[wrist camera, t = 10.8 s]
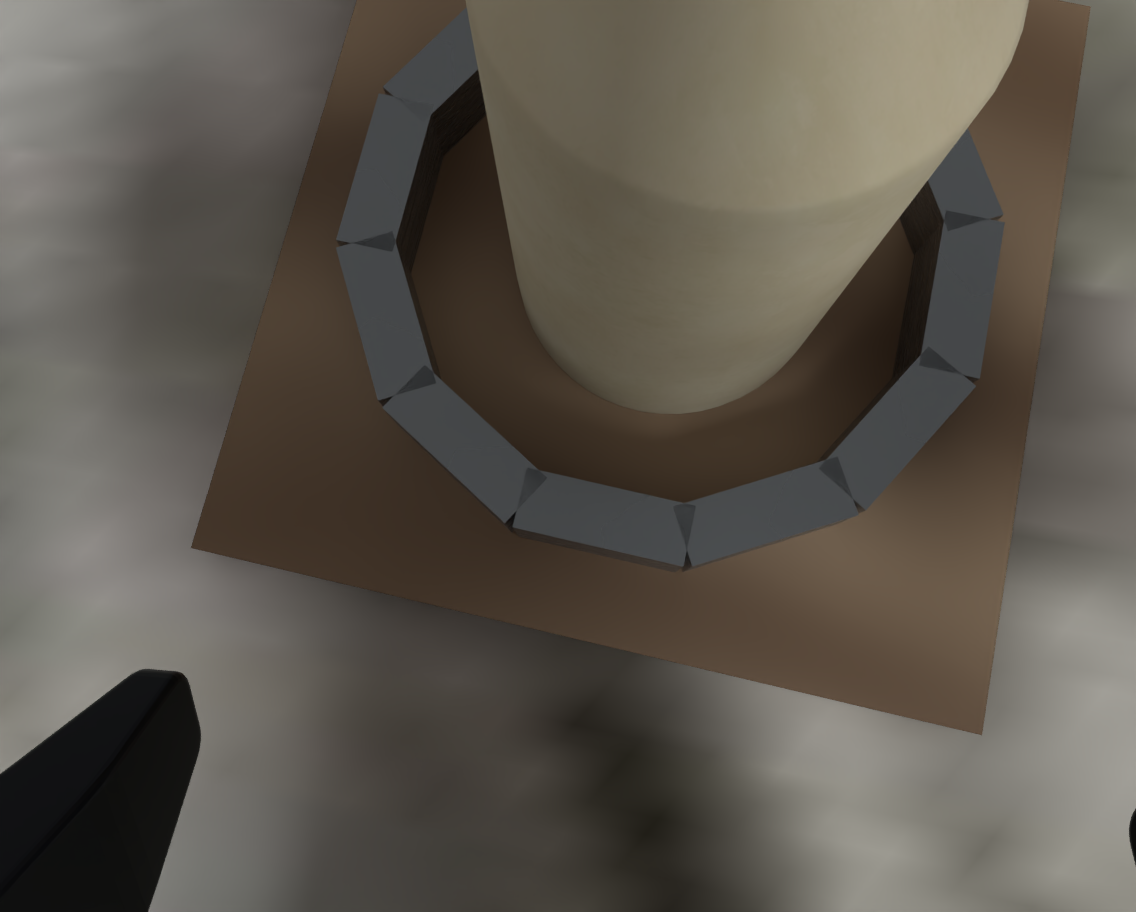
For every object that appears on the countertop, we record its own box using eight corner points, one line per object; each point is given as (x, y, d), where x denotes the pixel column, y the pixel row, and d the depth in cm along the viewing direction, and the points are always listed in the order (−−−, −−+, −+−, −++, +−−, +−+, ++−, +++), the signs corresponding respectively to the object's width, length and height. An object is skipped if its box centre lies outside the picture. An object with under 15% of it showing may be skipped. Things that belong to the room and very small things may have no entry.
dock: (958, 728, 17) (1022, 745, 15) (213, 552, 18) (152, 539, 15) (1065, 38, 19) (1135, -48, 17) (404, -91, 20) (380, -191, 18)
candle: (651, 82, 18) (730, -557, 8) (878, 260, 18) (1254, -213, 8) (457, 287, 18) (298, -149, 8) (685, 481, 17) (830, 272, 7)
